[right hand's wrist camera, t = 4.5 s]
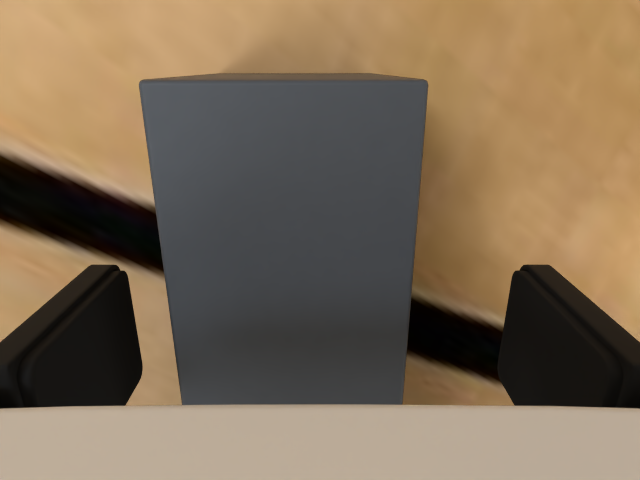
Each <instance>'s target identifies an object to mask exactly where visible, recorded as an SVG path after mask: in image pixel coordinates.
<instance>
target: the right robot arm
mask: <svg viewBox="0 0 640 480" xmlns="http://www.w3.org/2000/svg"><path fill="white" fill-rule="evenodd" d="M141 375H142V359H141V353H140V347H139V341H138V335H137V329H136V323H135V317H134V311H133V305H132V299H131V293H130V287H129V281H128V276H127V273H126V272H125V271H120V269H119V267H118V266H117V265H90V266H89V267H88V268H86V269H85V270H84V271H83V272H82V273H81V274H79V275H78V276H77V277H76V278H75V279H74V280H72V281H71V282H70V283H69V284H68V285H67V286H65V287H64V288H63V289H62V290H61V291H60V292H58V293H57V294H56V295H55V296H54V297H53V298H51V299H50V300H49V301H48V302H47V303H46V304H44V305H43V306H42V307H41V308H40V309H39V310H37V311H36V312H35V313H34V314H33V315H32V316H30V317H29V318H28V319H27V320H26V321H25V322H23V323H22V324H21V325H20V326H19V327H18V328H16V329H15V330H14V331H13V332H12V333H11V334H9V335H8V336H7V337H6V338H5V339H4V340H2V341H1V342H0V480H640V342H639V341H638V340H636V339H635V338H634V337H633V336H632V335H631V334H629V333H628V332H627V331H626V330H625V329H624V328H622V327H621V326H620V325H619V324H618V323H617V322H615V321H614V320H613V319H612V318H611V317H610V316H608V315H607V314H606V313H605V312H604V311H603V310H601V309H600V308H599V307H598V306H597V305H596V304H594V303H593V302H592V301H591V300H590V299H589V298H587V297H586V296H585V295H584V294H583V293H582V292H580V291H579V290H578V289H577V288H576V287H575V286H573V285H572V284H571V283H570V282H569V281H568V280H566V279H565V278H564V277H563V276H562V275H561V274H559V273H558V272H557V271H556V270H555V269H554V268H552V267H551V266H550V265H523V266H522V267H521V269H520V271H515V272H514V273H513V276H512V281H511V287H510V293H509V299H508V305H507V311H506V317H505V323H504V329H503V335H502V341H501V347H500V353H499V359H498V375H499V379H500V381H501V383H502V384H503V386H504V388H505V389H506V391H507V393H508V395H509V396H510V398H511V400H512V402H513V403H514V405H515V406H490V405H374V404H289V405H150V406H125V405H126V403H127V402H128V400H129V398H130V396H131V395H132V393H133V391H134V389H135V388H136V386H137V384H138V383H139V381H140V379H141Z"/></svg>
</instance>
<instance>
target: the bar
mask: <svg viewBox="0 0 640 480" xmlns="http://www.w3.org/2000/svg"><path fill="white" fill-rule="evenodd" d="M139 89H140V97H141V104H142V111H143V119H144V126H145V134H146V141H147V148H148V156H149V163H150V171H151V178H152V185H153V193H154V200H155V208H156V215H157V222H158V230H159V237H160V245H161V252H162V259H163V267H164V274H165V281H166V289H167V296H168V304H169V311H170V318H171V326H172V333H173V341H174V348H175V355H176V363H177V370H178V378H179V385H180V392H181V400H182V405H289V404H374V405H402V403H403V391H404V378H405V366H406V354H407V341H408V329H409V316H410V304H411V292H412V279H413V267H414V255H415V242H416V230H417V218H418V205H419V193H420V181H421V168H422V156H423V143H424V131H425V119H426V106H427V94H428V83H427V81H426V80H424V79H415V78H406V77H397V76H389V75H380V74H207V75H195V76H182V77H170V78H158V79H146V80H142V81H140V83H139Z"/></svg>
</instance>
